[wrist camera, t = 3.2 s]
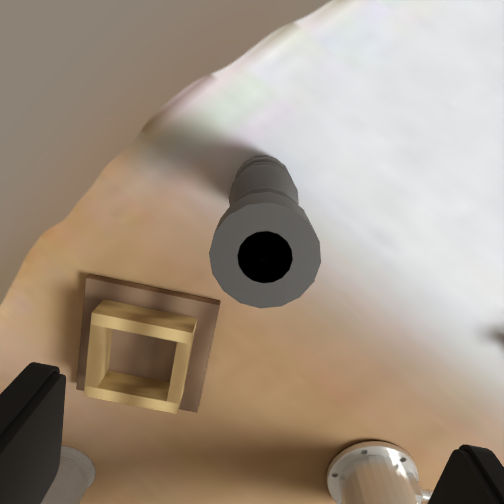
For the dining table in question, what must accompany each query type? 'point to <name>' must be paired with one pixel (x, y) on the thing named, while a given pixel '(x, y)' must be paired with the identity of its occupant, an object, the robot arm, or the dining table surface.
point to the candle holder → (264, 238)
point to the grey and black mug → (70, 478)
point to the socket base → (144, 344)
